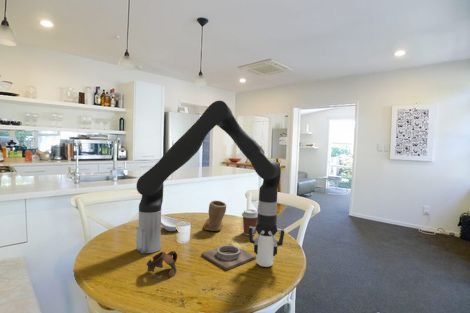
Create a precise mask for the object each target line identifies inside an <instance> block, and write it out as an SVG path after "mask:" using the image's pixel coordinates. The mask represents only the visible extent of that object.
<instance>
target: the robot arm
mask: <svg viewBox="0 0 470 313" xmlns="http://www.w3.org/2000/svg"><path fill="white" fill-rule="evenodd" d="M216 126H217V127H219V128H220V129H221V130H223V131H224V132H225V133H226V134H227V135H228V136H229V137H230V138H231V139H232V141H233V142H234V144H235V145H236V146H237V148H238V149H239V150H240V152H241V153H242V154H243V155H244V157H246V159H247V160H248V161H249V162H250V164H251V166H252V167H253V170H254V171H255V173H256V175H258V176H259V177H260V178H261V179H262V184H261V186H260V187H259V190H258V203H257V204H258V205H257V210H256V211H257V213H258V214H257V226H256V227H252V226H250V227H249V236H248V237H249V244H253V252H254V253H255V255H257V250H258V245H257V244H258V240H259V237H260V235H268V236H272V238H273V242H274V252H273V257H276V255H277V254H278V247H281V246H283V243H284V236H285V229H284V228H278V226H277V222H278V188H279V185H280V181H281V174H282V171H281V166H280V164H279V163H278V162H277V161H276V160H269V159H268V158H267V156H266V155H265V150H264V149H263V147H262V146H261V145H260V144H259V143H258V142H257V140H255V139H254V138H253V137H252V136H251V135H250V134H249V133H248V132H247V131H246V130H245V129H244V128H243V127H242V125H241V124H240V123H239V122H238V121H237V118H235V116H234V114H233V111H232V109H231V108H230V107H229V105H228V103H227V102H225V101H224V100H215V101H213V102H212V103H211V104H209V106H208V107H207V108H206V109H205V110H204V111H203V113H202V114H201V115H200V117H199V118H198V119H197V120H196V121H195V122H194V123H193V124H192V126H191V127H190V128H188V129H187V130H186V132H185V133H184V134H182V136H181V137H179V139H177V140H176V142H174V143H173V144H172V145H171V147H169V149H168V150H167V151H166V152H165V154H163V156H162V157H161V158H160V159H159V160H158V161H157V162H156V163H155V165H153V166H152V167H150V169H148V170H147V171H146V172H145V173H143V174H142V175H141V176H139V178H138V179H137V181H136V187H135V188H136V191H137V192H138V194H140V195H141V199H140V202H139V204H138V226H137V227H136V243H135V244H136V250H137V251H138V253H140V254H141V255H143V254H153V253H156V252H159V250H161V248H162V247H161V244H162V242H161V241H162V240H161V239H162V238H161V236H162V234H161V233H162V225H161V215H162V204H163V201H164V183H165V181H166V180H167V179H168V178H169V177H170V176H171V175H172V174H174V173H175V172H176V171H177V170H178V169H180V168H181V167H183V166H184V165H186V164H187V163H188V162H189V161H190V160H191V159H192V158H193V157H194V156H195V155H196V154H197V153H198V151H199V150H200V148H201V147H202V145H203V142H204V141H205V139H206V136H207V135H208V134H209V133H210V132H211V131H212V130H213V129H214V128H215V127H216ZM254 230H256V234H257V235H256V237H255V239H254V235H253V233H254ZM276 234H278V235H279V238H278V239H279V240H278V241H277V239H276V236H275V235H276ZM258 235H259V236H258Z"/></svg>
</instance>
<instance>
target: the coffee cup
mask: <svg viewBox="0 0 470 313" xmlns="http://www.w3.org/2000/svg"><path fill="white" fill-rule="evenodd" d="M257 214H258V211H257V210H255V209H244V210H243V212H241V217H242V223H243V227H242V228H243V235H246V236H248V235H249V227H250V226H252V227H256V226H257ZM256 234H257V231H256V230H254V233H253V236H255V235H256Z"/></svg>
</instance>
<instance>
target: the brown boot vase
mask: <svg viewBox="0 0 470 313" xmlns="http://www.w3.org/2000/svg"><path fill="white" fill-rule="evenodd" d="M226 211H227V204H226V202H224V201H221V200H212V201H211V202H210V203H209V205H208V211H207V212H208V217H209V218H206V220H205V223H204V225H203V228H204V230H205V231H209V232H215V231H216V232H217V231H221V229H222V228H223V219H224V216H225V214H226V213H227V212H226Z"/></svg>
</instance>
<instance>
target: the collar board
mask: <svg viewBox="0 0 470 313" xmlns="http://www.w3.org/2000/svg"><path fill="white" fill-rule="evenodd" d="M201 257H203V258H205V259H206V260H208V261H210V262H212V263H213V264H215V265H217V266H218V267H219V268H222V269H223V270H225V271H228V270H231V269H233V268H236V267H239V266H242V265H243V264H246V263H248V262H251V261H254V260H255V259H256V260H257V255H256V254H255V255H254V254H252V253H251V252H249V251H246V250H244V249H242V248H240V247H239V246H237V245H236V246H235V245H234V244H231V243H228V244H227V245H225V244H224V245H221V246H218V247H216V248H213V249H210V250H208V251H207V250H206V251H204V252H201Z"/></svg>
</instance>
